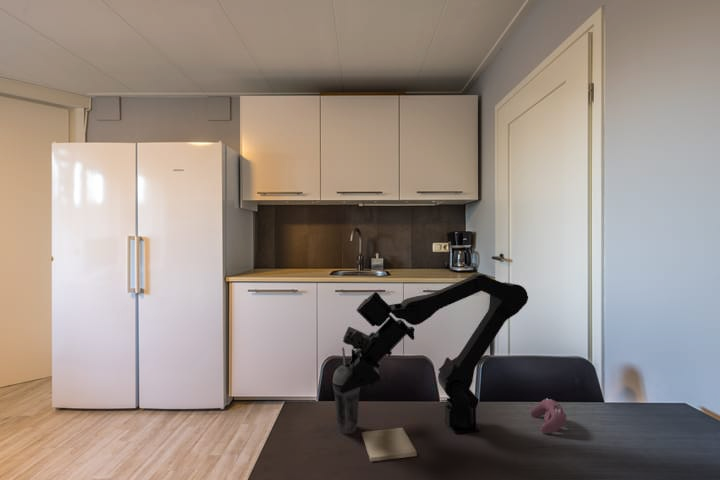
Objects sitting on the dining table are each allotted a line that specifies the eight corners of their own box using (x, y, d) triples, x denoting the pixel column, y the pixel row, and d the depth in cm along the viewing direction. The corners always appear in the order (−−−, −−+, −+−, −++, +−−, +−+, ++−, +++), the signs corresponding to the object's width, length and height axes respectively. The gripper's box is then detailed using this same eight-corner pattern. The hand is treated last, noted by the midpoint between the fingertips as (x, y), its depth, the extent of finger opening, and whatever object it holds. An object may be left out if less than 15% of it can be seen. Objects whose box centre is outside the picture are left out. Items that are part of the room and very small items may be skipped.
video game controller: (559, 443, 78) (573, 417, 78) (540, 432, 79) (554, 406, 79) (544, 422, 88) (557, 398, 88) (527, 412, 89) (540, 389, 88)
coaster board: (402, 431, 81) (402, 427, 81) (416, 455, 71) (416, 452, 71) (361, 435, 79) (361, 432, 79) (370, 461, 70) (370, 457, 70)
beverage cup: (368, 428, 83) (367, 346, 83) (347, 440, 77) (346, 352, 78) (347, 418, 88) (346, 341, 88) (326, 429, 82) (325, 347, 83)
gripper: (360, 310, 93) (320, 351, 92) (364, 324, 74) (314, 376, 73) (389, 338, 93) (349, 379, 92) (400, 360, 74) (350, 412, 73)
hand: (341, 385), depth 83 cm, fingers closed on beverage cup, 7 cm apart
